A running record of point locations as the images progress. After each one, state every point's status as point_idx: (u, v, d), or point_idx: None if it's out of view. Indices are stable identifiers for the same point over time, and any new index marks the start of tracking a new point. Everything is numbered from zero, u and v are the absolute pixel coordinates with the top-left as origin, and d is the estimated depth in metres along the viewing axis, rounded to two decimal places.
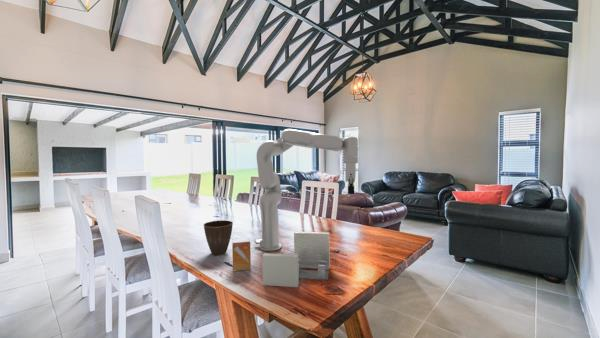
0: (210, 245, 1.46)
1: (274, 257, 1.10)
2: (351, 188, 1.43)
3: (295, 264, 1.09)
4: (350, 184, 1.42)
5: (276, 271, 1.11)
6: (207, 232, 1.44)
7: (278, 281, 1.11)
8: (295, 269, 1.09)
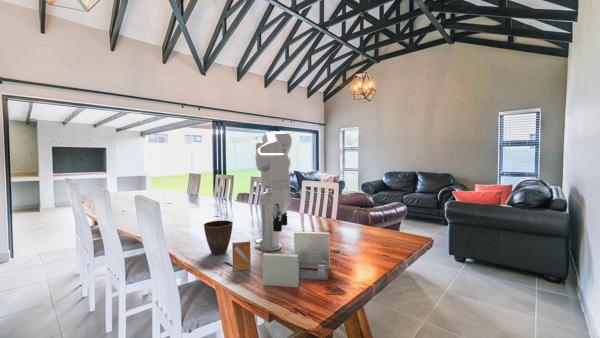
0: (210, 245, 1.46)
1: (274, 257, 1.10)
2: (277, 224, 1.05)
3: (295, 264, 1.09)
4: (275, 219, 1.04)
5: (276, 271, 1.10)
6: (207, 232, 1.44)
7: (278, 281, 1.11)
8: (295, 269, 1.09)
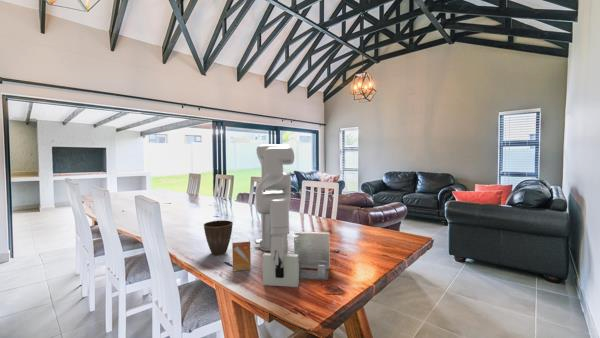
0: (210, 245, 1.46)
1: None
2: (279, 271, 1.09)
3: (295, 264, 1.09)
4: (277, 266, 1.08)
5: None
6: (207, 232, 1.44)
7: (278, 281, 1.11)
8: (295, 269, 1.09)
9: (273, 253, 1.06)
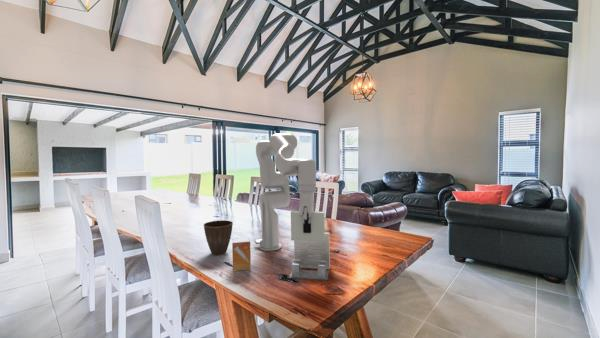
0: (210, 245, 1.46)
1: None
2: (307, 226, 1.16)
3: (322, 220, 1.16)
4: (305, 221, 1.15)
5: None
6: (207, 232, 1.44)
7: (306, 236, 1.18)
8: (322, 224, 1.16)
9: (302, 209, 1.14)
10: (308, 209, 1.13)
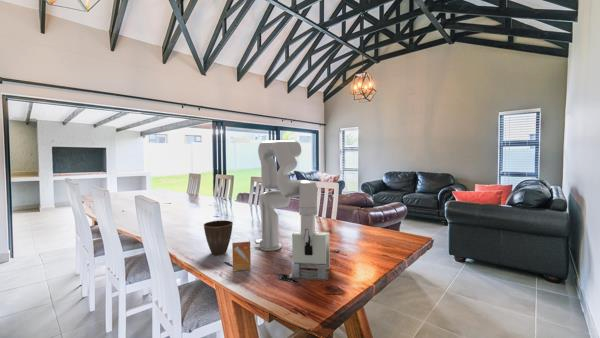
0: (210, 245, 1.46)
1: None
2: (308, 248, 1.17)
3: (323, 242, 1.17)
4: (307, 244, 1.16)
5: None
6: (207, 232, 1.44)
7: (307, 258, 1.18)
8: (323, 247, 1.17)
9: (303, 231, 1.14)
10: (309, 232, 1.14)
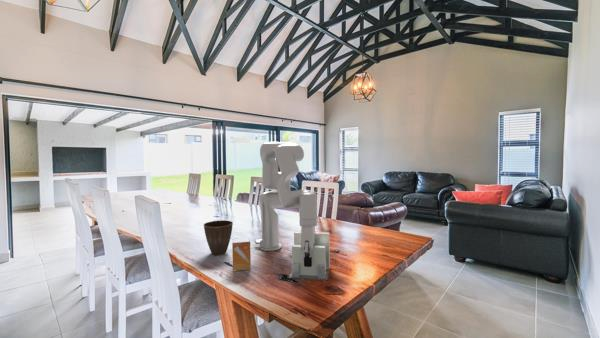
0: (210, 245, 1.46)
1: None
2: (307, 260, 1.15)
3: (323, 254, 1.17)
4: (306, 256, 1.14)
5: None
6: (207, 232, 1.44)
7: (307, 270, 1.19)
8: (323, 259, 1.17)
9: (303, 243, 1.14)
10: (309, 243, 1.14)
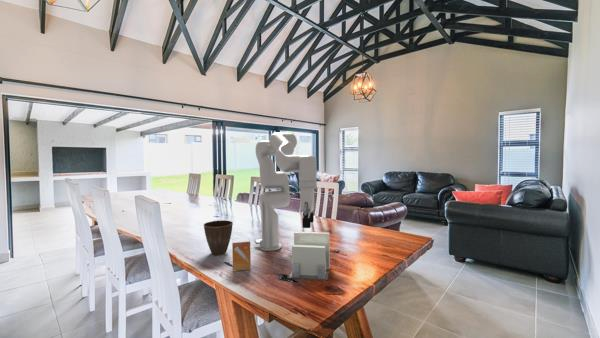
0: (210, 245, 1.46)
1: (303, 248, 1.19)
2: (306, 221, 1.13)
3: (323, 254, 1.17)
4: (304, 216, 1.12)
5: (305, 261, 1.19)
6: (207, 232, 1.44)
7: (307, 270, 1.19)
8: (323, 259, 1.17)
9: (302, 205, 1.14)
10: (309, 205, 1.13)
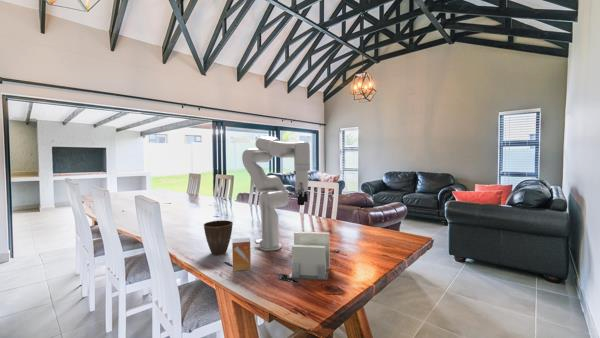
0: (210, 245, 1.46)
1: (303, 248, 1.19)
2: (301, 199, 1.29)
3: (323, 254, 1.17)
4: (299, 194, 1.28)
5: (305, 261, 1.19)
6: (207, 232, 1.44)
7: (307, 270, 1.19)
8: (323, 259, 1.17)
9: (297, 185, 1.30)
10: (303, 185, 1.30)
